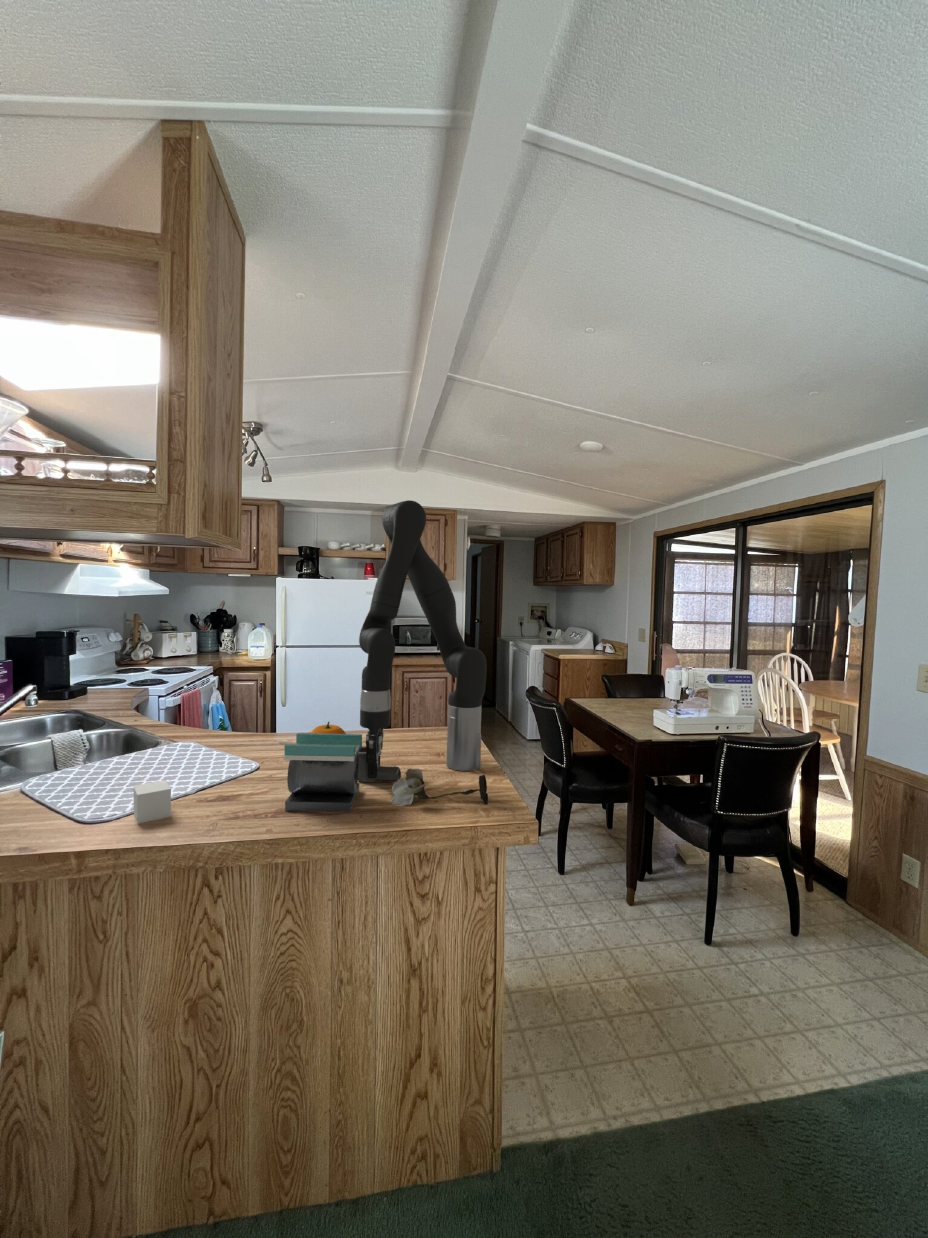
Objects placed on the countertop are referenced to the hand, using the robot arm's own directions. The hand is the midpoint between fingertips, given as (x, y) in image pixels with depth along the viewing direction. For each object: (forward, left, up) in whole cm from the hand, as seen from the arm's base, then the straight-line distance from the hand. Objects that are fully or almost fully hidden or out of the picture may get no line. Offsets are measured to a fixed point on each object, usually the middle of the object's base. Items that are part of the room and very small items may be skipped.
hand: (374, 773), depth 135 cm
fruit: (+16, -20, -2) cm, 26 cm away
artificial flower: (-17, +13, -2) cm, 21 cm away
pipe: (0, 0, -2) cm, 2 cm away
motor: (+10, +13, -2) cm, 16 cm away
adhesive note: (+43, +22, -2) cm, 48 cm away
